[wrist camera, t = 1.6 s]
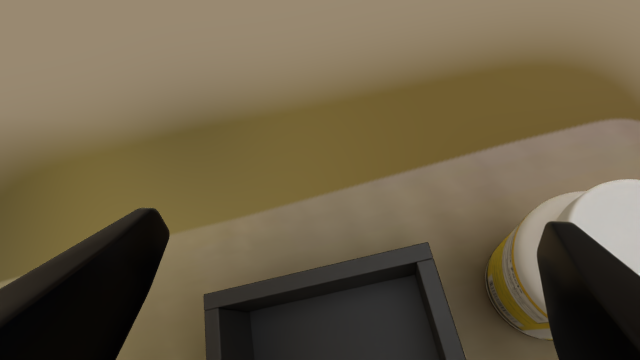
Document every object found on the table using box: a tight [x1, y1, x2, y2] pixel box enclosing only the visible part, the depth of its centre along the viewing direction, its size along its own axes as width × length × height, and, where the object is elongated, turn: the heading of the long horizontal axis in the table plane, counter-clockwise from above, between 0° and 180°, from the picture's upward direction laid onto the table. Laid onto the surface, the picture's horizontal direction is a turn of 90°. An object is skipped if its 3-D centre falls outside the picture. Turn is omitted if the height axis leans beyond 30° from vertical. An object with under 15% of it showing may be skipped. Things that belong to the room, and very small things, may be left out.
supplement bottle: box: [485, 179, 640, 341], centre depth 15 cm, size 5×5×10 cm
